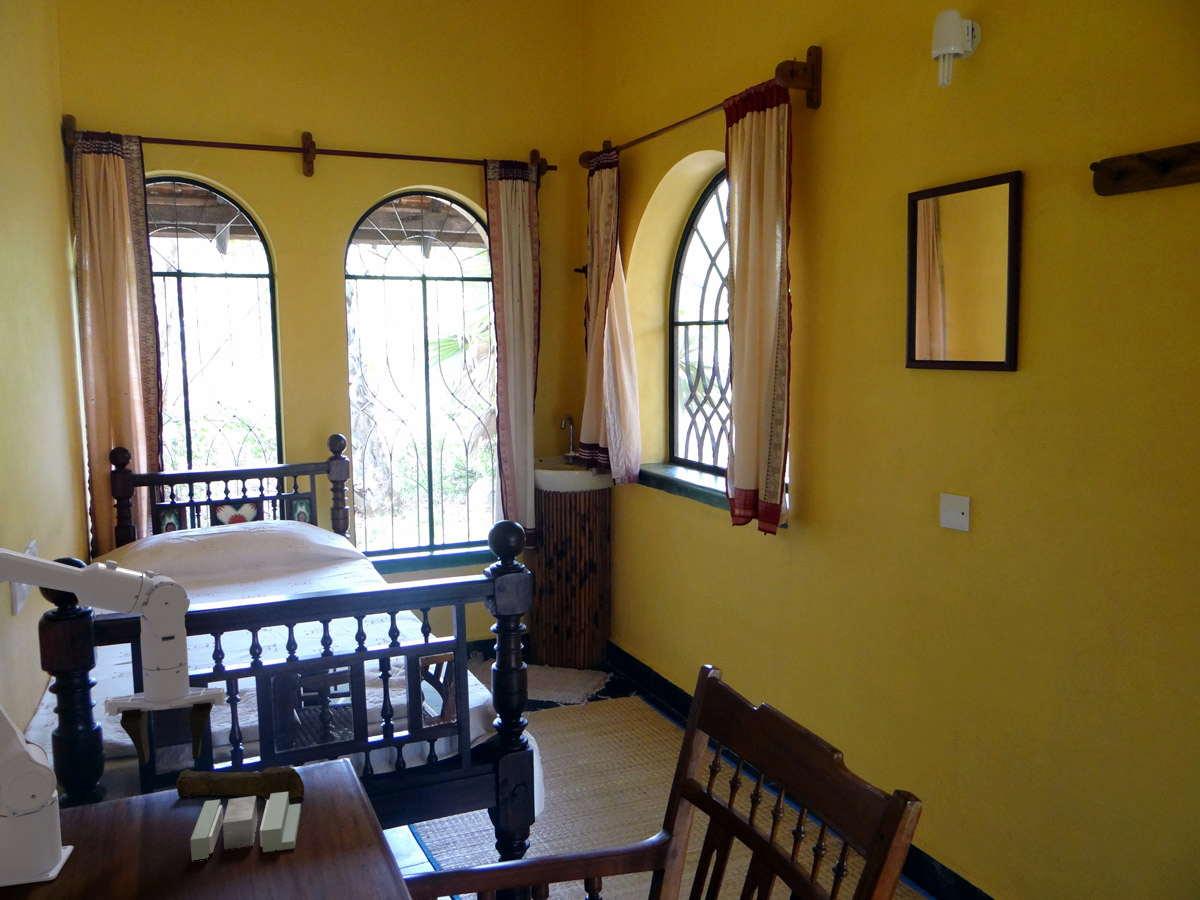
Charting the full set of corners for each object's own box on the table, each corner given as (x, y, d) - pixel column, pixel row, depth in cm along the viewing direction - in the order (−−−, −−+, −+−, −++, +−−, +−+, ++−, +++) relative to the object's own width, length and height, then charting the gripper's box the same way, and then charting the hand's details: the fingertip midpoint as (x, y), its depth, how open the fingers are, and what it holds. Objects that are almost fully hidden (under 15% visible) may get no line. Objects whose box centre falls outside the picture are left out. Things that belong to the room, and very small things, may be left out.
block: (224, 851, 125) (222, 822, 125) (230, 826, 132) (229, 799, 131) (253, 847, 126) (251, 819, 126) (257, 822, 133) (256, 795, 132)
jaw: (191, 861, 122) (190, 839, 122) (206, 821, 133) (205, 801, 133) (211, 858, 123) (210, 837, 123) (224, 819, 133) (223, 799, 133)
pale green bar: (259, 852, 124) (258, 831, 124) (268, 813, 135) (267, 794, 135) (294, 848, 125) (293, 826, 125) (300, 810, 136) (299, 790, 136)
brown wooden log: (174, 802, 140) (172, 772, 139) (189, 789, 144) (187, 760, 143) (296, 808, 137) (294, 777, 137) (307, 795, 141) (306, 765, 141)
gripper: (99, 678, 124) (106, 777, 125) (216, 668, 127) (222, 764, 128) (113, 661, 131) (120, 755, 132) (224, 652, 134) (229, 744, 135)
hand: (171, 758), depth 131 cm, fingers open, 6 cm apart
